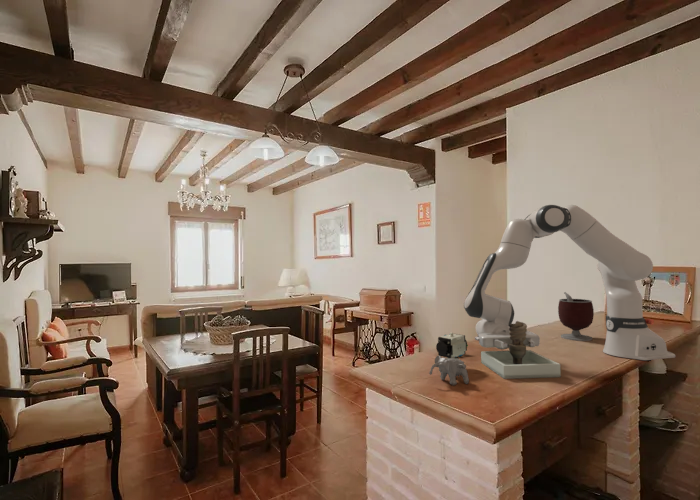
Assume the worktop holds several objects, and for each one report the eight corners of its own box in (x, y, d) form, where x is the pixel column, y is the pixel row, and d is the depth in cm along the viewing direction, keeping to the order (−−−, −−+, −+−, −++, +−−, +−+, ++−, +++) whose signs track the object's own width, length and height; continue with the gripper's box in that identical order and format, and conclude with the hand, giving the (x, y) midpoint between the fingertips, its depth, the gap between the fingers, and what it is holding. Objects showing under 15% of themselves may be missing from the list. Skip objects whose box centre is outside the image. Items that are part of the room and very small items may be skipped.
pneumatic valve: (436, 370, 128) (435, 334, 128) (456, 363, 135) (455, 329, 136) (449, 374, 124) (449, 336, 124) (470, 367, 131) (469, 331, 131)
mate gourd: (601, 341, 167) (600, 295, 167) (569, 341, 167) (568, 295, 168) (580, 333, 183) (579, 291, 183) (551, 334, 183) (550, 292, 183)
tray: (530, 361, 137) (530, 350, 137) (560, 377, 119) (560, 364, 119) (481, 362, 136) (481, 351, 136) (503, 378, 118) (503, 365, 118)
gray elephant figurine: (473, 383, 115) (473, 357, 116) (449, 390, 108) (449, 363, 108) (448, 377, 122) (448, 352, 123) (423, 383, 115) (424, 357, 115)
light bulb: (526, 364, 129) (525, 320, 130) (528, 369, 124) (527, 323, 124) (508, 363, 131) (507, 319, 131) (509, 367, 126) (509, 322, 126)
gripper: (472, 328, 140) (488, 336, 126) (527, 327, 141) (548, 334, 127) (473, 345, 140) (488, 355, 126) (527, 344, 141) (548, 353, 127)
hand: (519, 345), depth 127 cm, fingers open, 8 cm apart
